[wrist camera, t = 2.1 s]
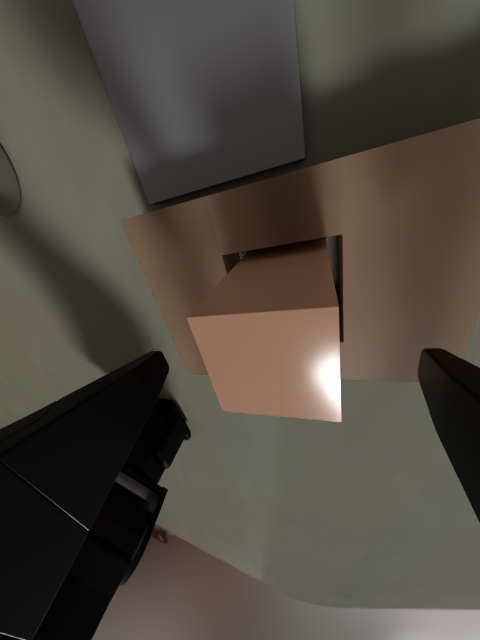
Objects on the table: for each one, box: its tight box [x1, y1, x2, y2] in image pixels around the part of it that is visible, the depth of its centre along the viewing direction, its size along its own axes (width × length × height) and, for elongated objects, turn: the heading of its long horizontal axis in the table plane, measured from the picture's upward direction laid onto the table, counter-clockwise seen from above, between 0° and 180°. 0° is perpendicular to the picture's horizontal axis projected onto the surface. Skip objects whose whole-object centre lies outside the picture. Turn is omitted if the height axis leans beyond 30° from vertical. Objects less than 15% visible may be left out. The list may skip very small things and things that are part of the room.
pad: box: [72, 0, 306, 205], centre depth 10 cm, size 9×9×1 cm
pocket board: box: [121, 118, 480, 382], centre depth 13 cm, size 16×11×3 cm
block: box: [187, 238, 341, 422], centre depth 11 cm, size 4×4×8 cm
